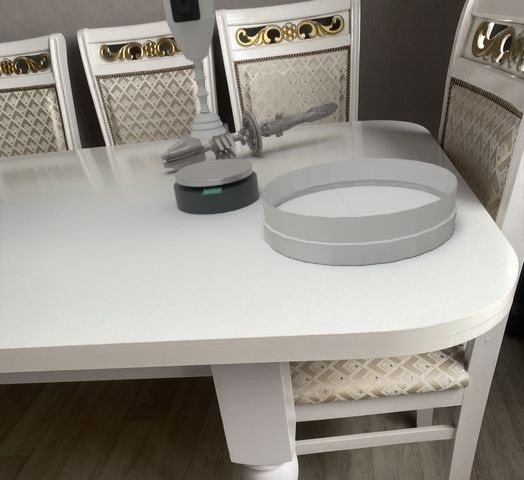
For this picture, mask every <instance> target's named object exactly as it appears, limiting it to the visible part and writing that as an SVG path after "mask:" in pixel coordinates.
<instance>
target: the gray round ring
mask: <svg viewBox="0 0 524 480" xmlns="http://www.w3.org/2000/svg"><path fill="white" fill-rule="evenodd" d="M457 192H458V180H457V175H455V174H454V173H452V171H450V170H449V169H448V168H445V167H442V166H440V165H436V164H433V163H429V162H424V161H419V160H412V159H405V158H385V157H384V158H381V157H379V158H378V157H373V158H354V159H346V160H345V159H344V160H336V161H329V162H323V163H318V164H317V163H316V164H312V165H309V166H305V167H301V168H298V169H294V170H291V171H289V172H286V173H284V174H281V175H279V176H276V177H275V178H274V179H272V180H270V181H269V182H268V183H266V184H265V186H264V187H263V188H262V190H261V200H262V208H263V213H262V214H261V217H262V225H263V231H264V240H265V242H266V243H267V244H268V245H269V247H270V248H271V249H272V250H273V251H275V252H277V253H279V254H281V255H283V256H285V257H287V258H291V259H294V260H297V261H302V262H305V263H309V264H319V265H327V266H366V265H376V264H387V263H393V262H396V261H401V260H405V259H410V258H415V257H417V256H420V255H422V254H425V253H427V252H430V251H432V250H435V249H437V248H438V247H440V246H441V245H442V244H444V243H446V242H447V241H448V240H450V239H451V237H452V235H453V234H454V232H455V230H456V222H457V220H456V219H457V211H458V206H457V202H456V201H457V199H456V198H457Z"/></svg>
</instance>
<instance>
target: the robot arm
mask: <svg viewBox="0 0 524 480" xmlns="http://www.w3.org/2000/svg"><path fill="white" fill-rule="evenodd" d="M170 5H171V11H172V17H173V21H174V22H175V23H180V22H188V21H196V20H199V19H200V18H201V15H200V8H199V1H198V0H170Z"/></svg>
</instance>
